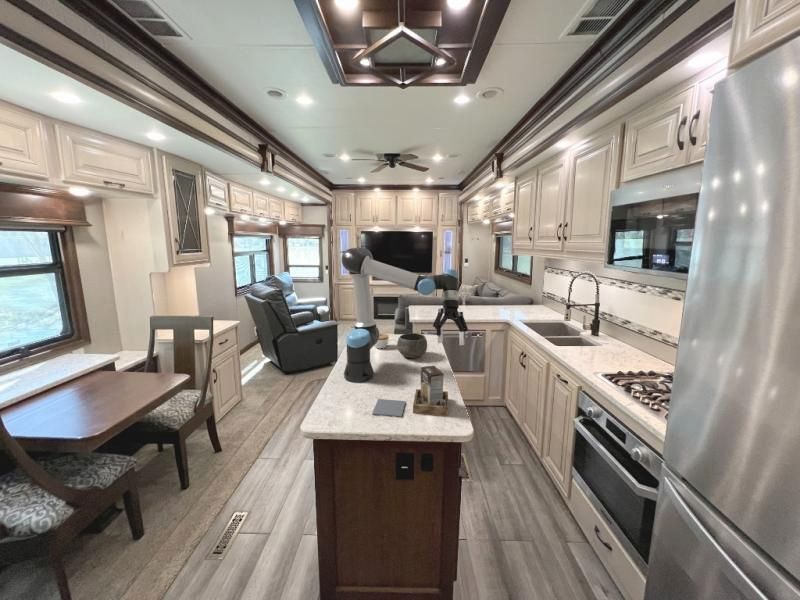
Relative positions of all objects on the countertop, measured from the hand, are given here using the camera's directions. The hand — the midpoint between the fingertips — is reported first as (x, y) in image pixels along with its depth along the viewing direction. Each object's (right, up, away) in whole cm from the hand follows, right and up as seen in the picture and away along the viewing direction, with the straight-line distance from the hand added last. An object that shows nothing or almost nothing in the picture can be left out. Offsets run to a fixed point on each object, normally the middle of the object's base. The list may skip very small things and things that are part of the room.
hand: (451, 344), depth 153 cm
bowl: (-17, -13, +41) cm, 46 cm away
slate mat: (-29, -24, -18) cm, 42 cm away
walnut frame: (-11, -24, -16) cm, 31 cm away
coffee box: (-11, -24, -16) cm, 31 cm away
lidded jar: (-37, -10, +56) cm, 68 cm away
